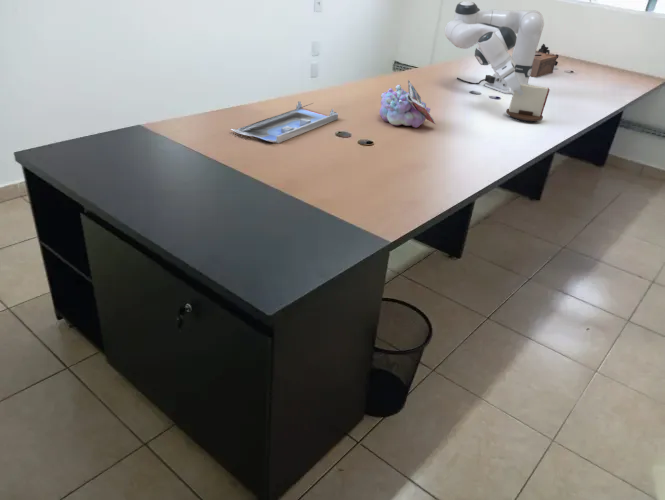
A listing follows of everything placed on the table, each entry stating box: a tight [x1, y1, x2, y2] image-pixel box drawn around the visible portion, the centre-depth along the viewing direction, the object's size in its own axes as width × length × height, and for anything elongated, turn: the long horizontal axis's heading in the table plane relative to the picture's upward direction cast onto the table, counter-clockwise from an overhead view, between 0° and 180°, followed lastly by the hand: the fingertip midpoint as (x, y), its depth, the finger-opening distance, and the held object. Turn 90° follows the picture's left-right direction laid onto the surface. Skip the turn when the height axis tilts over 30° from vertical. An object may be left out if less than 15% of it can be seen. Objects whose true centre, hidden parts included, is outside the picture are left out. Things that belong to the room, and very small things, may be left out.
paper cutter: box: [230, 101, 339, 144], centre depth 203 cm, size 18×45×6 cm, turn 148°
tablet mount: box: [537, 43, 559, 66], centre depth 374 cm, size 27×14×17 cm
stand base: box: [509, 115, 538, 124], centre depth 246 cm, size 12×12×1 cm
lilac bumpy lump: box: [379, 79, 436, 129], centre depth 219 cm, size 20×22×18 cm
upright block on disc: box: [505, 84, 551, 122], centre depth 242 cm, size 16×16×13 cm
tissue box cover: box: [530, 50, 558, 78], centre depth 336 cm, size 26×14×10 cm, turn 139°
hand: (521, 93), depth 242 cm, fingers closed on upright block on disc, 3 cm apart
